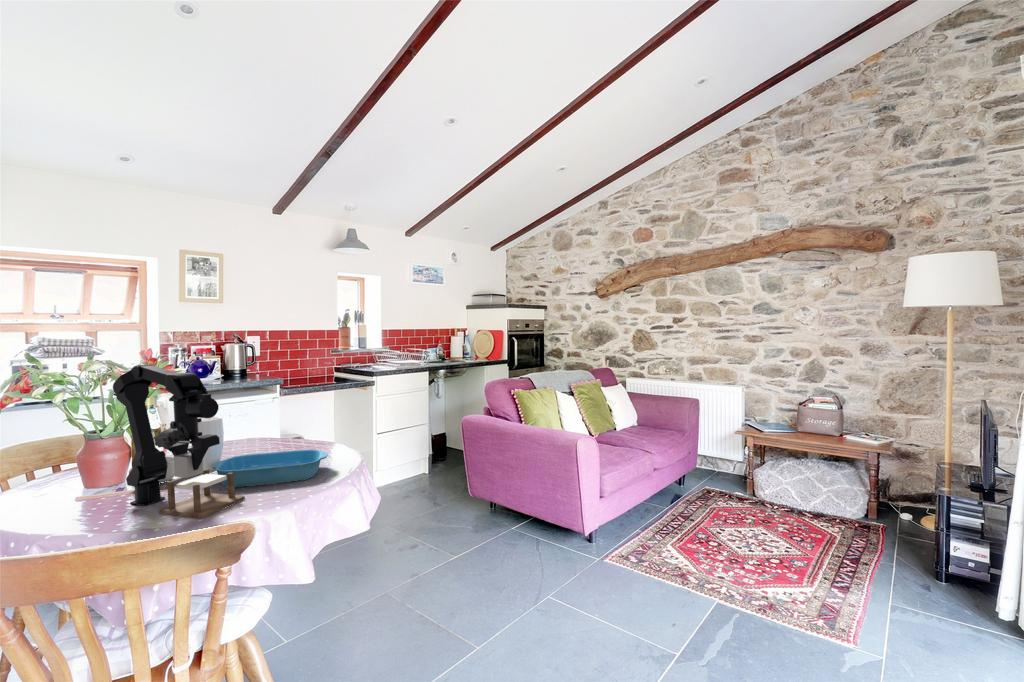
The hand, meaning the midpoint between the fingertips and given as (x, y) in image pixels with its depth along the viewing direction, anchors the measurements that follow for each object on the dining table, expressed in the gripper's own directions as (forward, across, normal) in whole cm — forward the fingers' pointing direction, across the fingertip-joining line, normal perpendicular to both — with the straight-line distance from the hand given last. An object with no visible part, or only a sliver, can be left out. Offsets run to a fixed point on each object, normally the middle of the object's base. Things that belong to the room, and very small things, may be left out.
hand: (189, 469), depth 146 cm
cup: (+12, -21, +24) cm, 34 cm away
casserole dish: (+13, 0, +31) cm, 34 cm away
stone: (+2, 0, 0) cm, 2 cm away
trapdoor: (+5, +1, +3) cm, 6 cm away
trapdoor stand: (+12, +1, +3) cm, 13 cm away
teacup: (+12, -36, +16) cm, 41 cm away
